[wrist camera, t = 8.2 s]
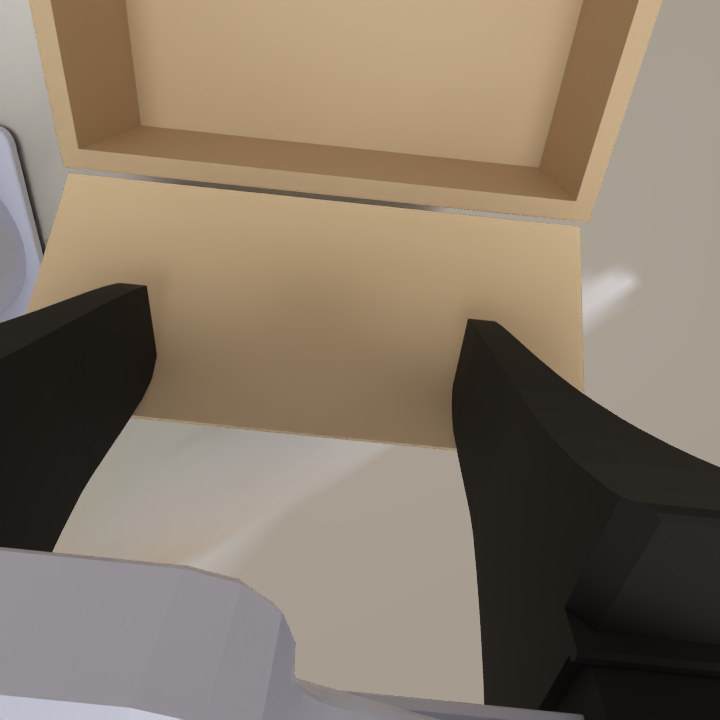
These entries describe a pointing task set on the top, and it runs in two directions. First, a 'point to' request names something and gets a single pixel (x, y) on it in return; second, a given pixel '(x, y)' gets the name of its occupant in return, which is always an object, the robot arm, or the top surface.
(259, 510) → the top surface
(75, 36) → the carton
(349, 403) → the flap
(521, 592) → the robot arm
